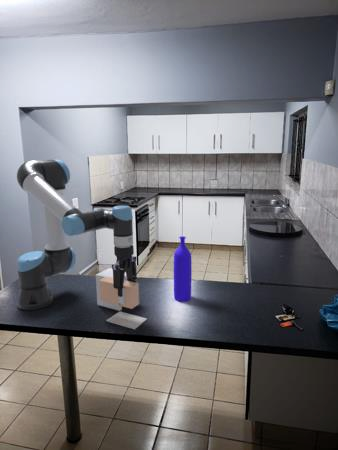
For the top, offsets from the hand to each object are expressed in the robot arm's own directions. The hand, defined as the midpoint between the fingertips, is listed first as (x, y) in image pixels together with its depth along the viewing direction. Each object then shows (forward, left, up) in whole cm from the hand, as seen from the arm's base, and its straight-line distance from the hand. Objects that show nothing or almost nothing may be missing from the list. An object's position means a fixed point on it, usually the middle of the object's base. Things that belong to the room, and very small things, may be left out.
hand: (126, 300), depth 138 cm
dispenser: (-14, +11, -9) cm, 20 cm away
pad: (0, 0, -9) cm, 9 cm away
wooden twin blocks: (-3, 0, -2) cm, 4 cm away
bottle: (+11, +30, -9) cm, 33 cm away
